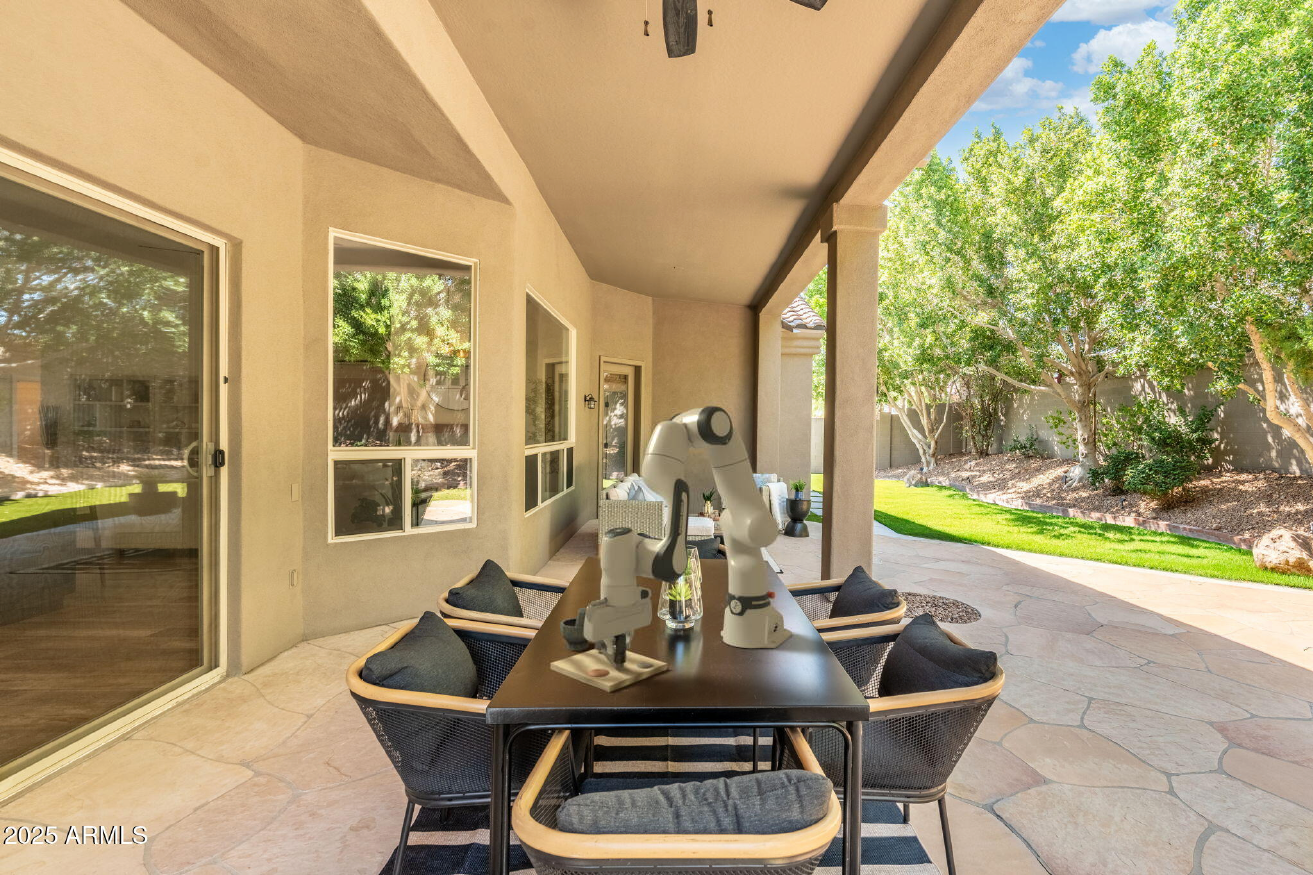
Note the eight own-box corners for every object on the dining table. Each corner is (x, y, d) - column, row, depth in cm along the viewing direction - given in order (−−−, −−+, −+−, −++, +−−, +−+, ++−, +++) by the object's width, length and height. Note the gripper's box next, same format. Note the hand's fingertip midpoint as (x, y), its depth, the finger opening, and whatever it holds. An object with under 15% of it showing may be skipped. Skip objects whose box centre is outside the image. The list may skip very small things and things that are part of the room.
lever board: (608, 650, 177) (608, 644, 177) (666, 669, 162) (666, 662, 162) (550, 669, 162) (550, 662, 162) (609, 692, 147) (609, 684, 147)
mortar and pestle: (556, 643, 182) (556, 602, 183) (587, 639, 186) (587, 598, 186) (567, 655, 172) (567, 611, 172) (600, 651, 176) (600, 607, 176)
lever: (607, 644, 174) (607, 615, 174) (629, 668, 155) (629, 635, 155) (592, 646, 172) (592, 616, 172) (613, 670, 154) (613, 637, 154)
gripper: (595, 605, 146) (595, 665, 146) (655, 589, 161) (656, 643, 161) (577, 600, 151) (578, 658, 151) (638, 585, 166) (638, 638, 166)
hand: (618, 650), depth 156 cm, fingers open, 3 cm apart
